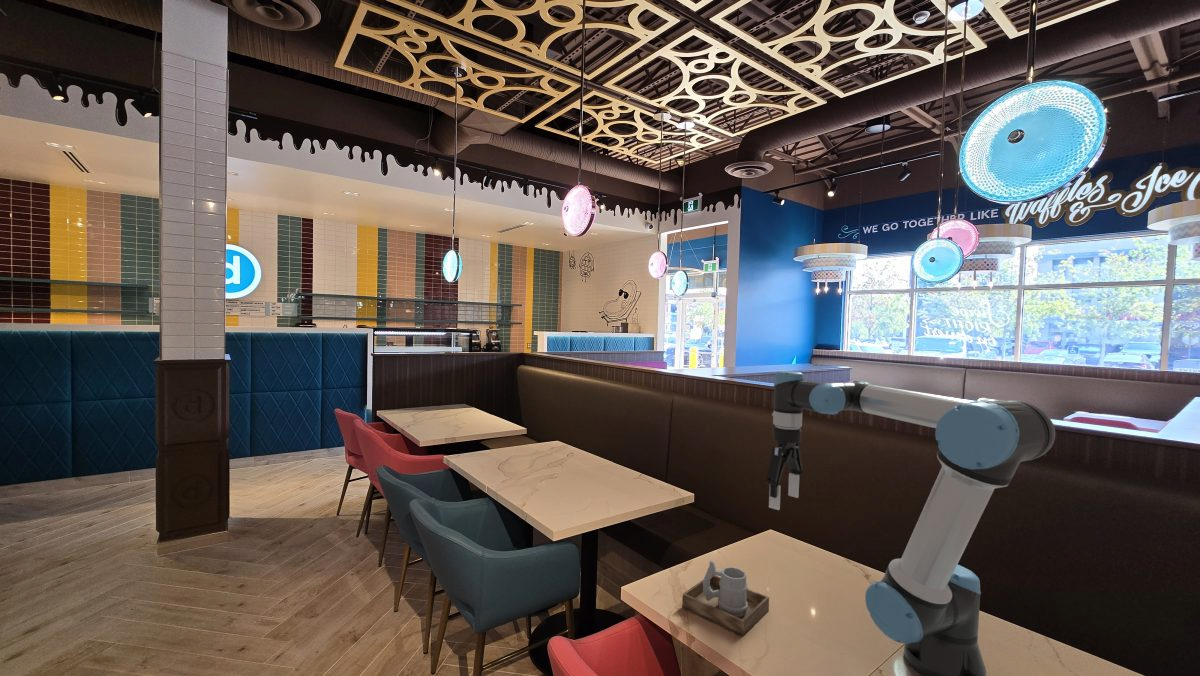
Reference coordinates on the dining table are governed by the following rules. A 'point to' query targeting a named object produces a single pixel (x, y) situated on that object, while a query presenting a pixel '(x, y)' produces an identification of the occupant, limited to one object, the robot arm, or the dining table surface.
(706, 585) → the mug
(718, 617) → the wooden tray
